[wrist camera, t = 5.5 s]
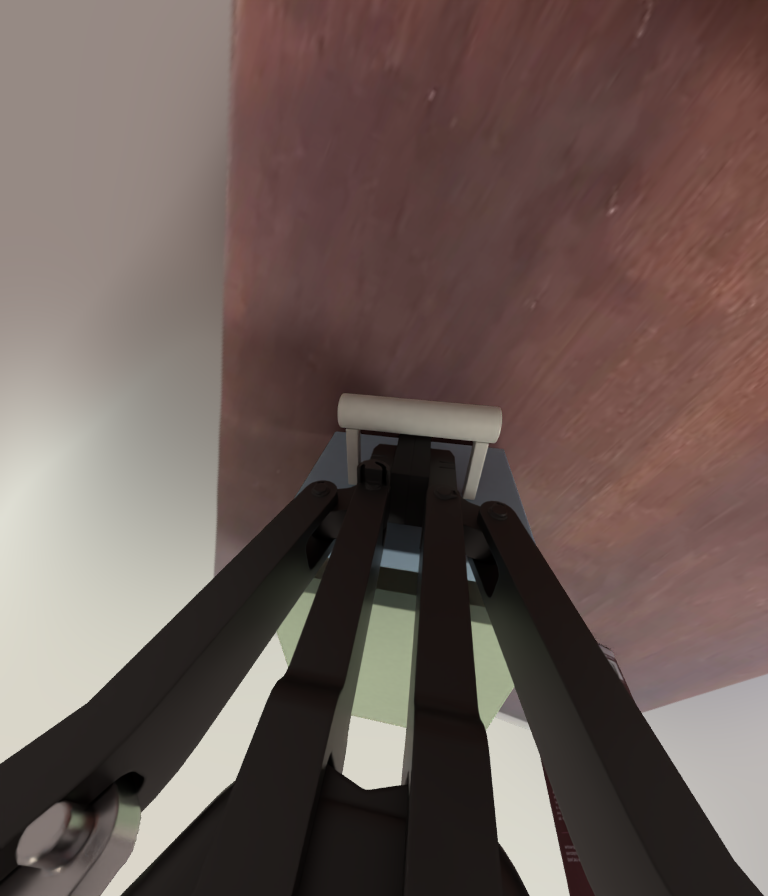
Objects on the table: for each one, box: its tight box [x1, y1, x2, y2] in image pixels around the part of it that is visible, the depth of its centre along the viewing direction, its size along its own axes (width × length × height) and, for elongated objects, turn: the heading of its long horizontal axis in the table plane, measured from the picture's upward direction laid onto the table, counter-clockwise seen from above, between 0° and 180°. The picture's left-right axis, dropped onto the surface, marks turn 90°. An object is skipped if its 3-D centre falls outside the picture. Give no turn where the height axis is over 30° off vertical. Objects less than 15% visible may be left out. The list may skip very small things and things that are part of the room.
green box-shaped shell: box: [277, 578, 514, 730], centre depth 21 cm, size 15×13×11 cm
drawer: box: [295, 393, 535, 607], centre depth 18 cm, size 18×11×9 cm, turn 178°
